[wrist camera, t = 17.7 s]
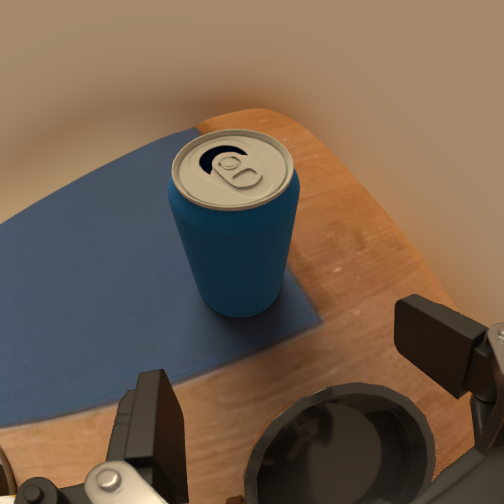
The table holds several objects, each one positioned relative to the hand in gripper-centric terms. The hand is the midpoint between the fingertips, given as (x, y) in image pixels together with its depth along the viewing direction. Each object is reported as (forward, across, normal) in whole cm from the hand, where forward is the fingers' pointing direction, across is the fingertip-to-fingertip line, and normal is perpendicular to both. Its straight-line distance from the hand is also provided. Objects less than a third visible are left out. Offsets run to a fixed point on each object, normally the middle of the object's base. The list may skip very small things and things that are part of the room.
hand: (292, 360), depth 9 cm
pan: (+3, -2, +13) cm, 14 cm away
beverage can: (+14, 0, +2) cm, 15 cm away
